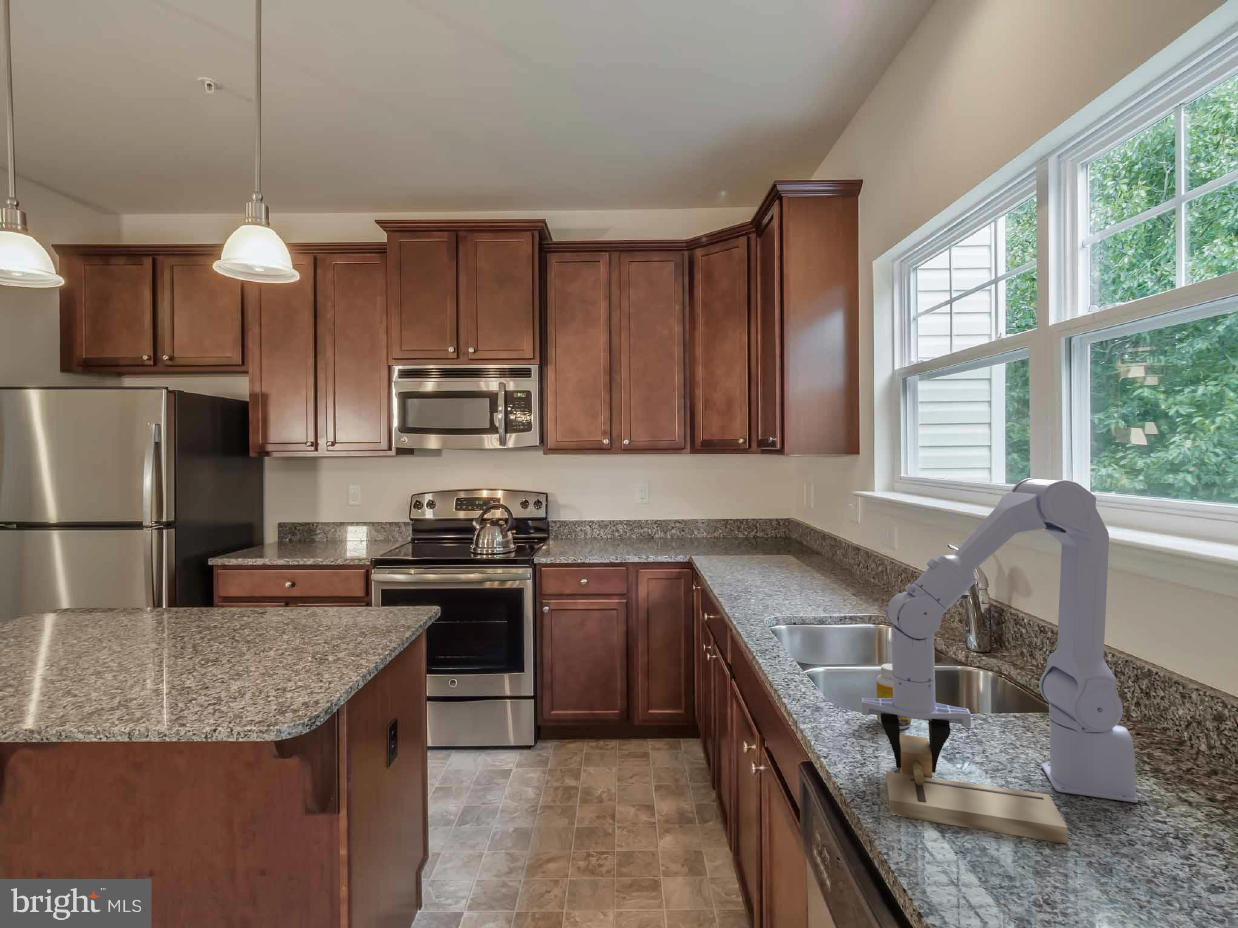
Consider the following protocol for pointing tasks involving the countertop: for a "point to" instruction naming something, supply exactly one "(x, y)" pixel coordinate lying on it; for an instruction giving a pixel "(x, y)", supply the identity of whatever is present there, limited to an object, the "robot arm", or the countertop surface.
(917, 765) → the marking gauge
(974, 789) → the maple board
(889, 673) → the supplement bottle
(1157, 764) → the countertop surface
